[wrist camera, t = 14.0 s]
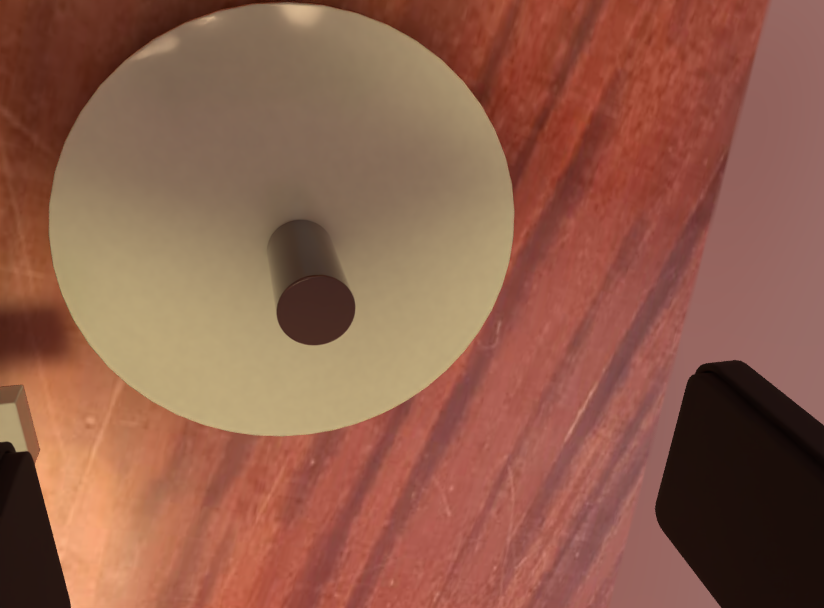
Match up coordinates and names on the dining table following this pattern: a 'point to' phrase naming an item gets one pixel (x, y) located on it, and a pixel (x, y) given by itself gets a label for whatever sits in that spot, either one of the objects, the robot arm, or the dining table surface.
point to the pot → (17, 420)
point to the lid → (281, 218)
